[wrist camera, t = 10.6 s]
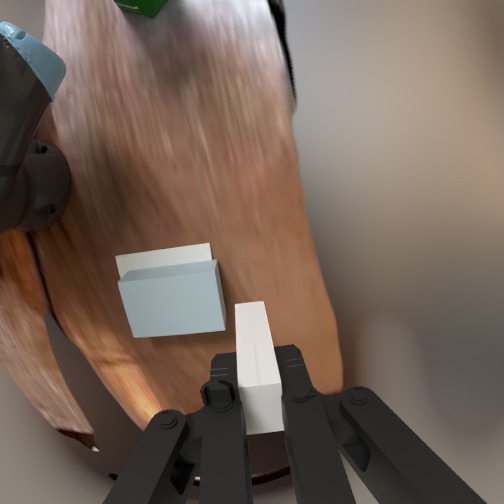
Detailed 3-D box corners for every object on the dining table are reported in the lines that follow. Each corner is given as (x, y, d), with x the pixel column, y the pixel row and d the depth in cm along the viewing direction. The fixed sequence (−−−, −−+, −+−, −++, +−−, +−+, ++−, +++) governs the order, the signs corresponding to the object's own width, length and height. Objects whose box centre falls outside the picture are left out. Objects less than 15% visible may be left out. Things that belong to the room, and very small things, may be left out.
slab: (226, 314, 48) (142, 322, 48) (217, 259, 45) (128, 270, 45) (225, 330, 43) (133, 337, 43) (214, 270, 41) (117, 282, 41)
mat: (137, 334, 49) (136, 335, 49) (115, 255, 45) (115, 256, 45) (224, 327, 49) (224, 328, 49) (209, 242, 45) (209, 243, 45)
